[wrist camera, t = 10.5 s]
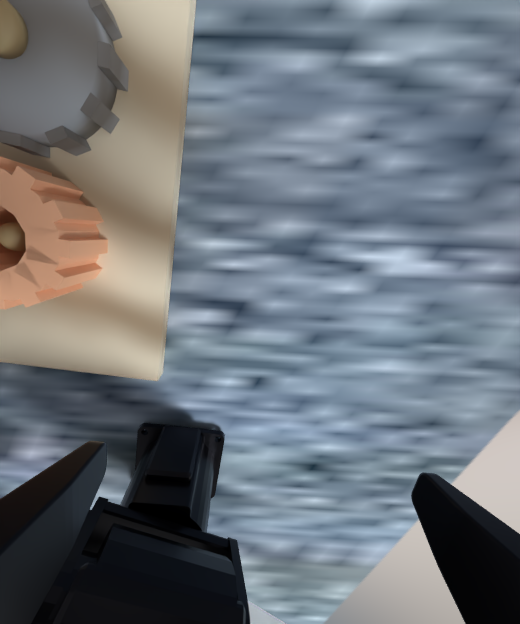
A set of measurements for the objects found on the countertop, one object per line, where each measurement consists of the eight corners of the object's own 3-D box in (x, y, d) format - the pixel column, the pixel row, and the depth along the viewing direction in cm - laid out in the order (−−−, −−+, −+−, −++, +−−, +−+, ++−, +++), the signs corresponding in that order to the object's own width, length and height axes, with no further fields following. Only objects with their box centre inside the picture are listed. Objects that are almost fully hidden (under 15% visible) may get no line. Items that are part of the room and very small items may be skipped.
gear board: (162, 372, 20) (138, 415, 15) (-49, 346, 18) (-150, 384, 13) (196, -8, 14) (173, -130, 9) (-113, -95, 12) (-331, -297, 8)
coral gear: (106, 301, 17) (70, 319, 13) (-13, 283, 16) (-85, 296, 12) (109, 184, 15) (69, 169, 11) (-26, 157, 14) (-113, 132, 11)
